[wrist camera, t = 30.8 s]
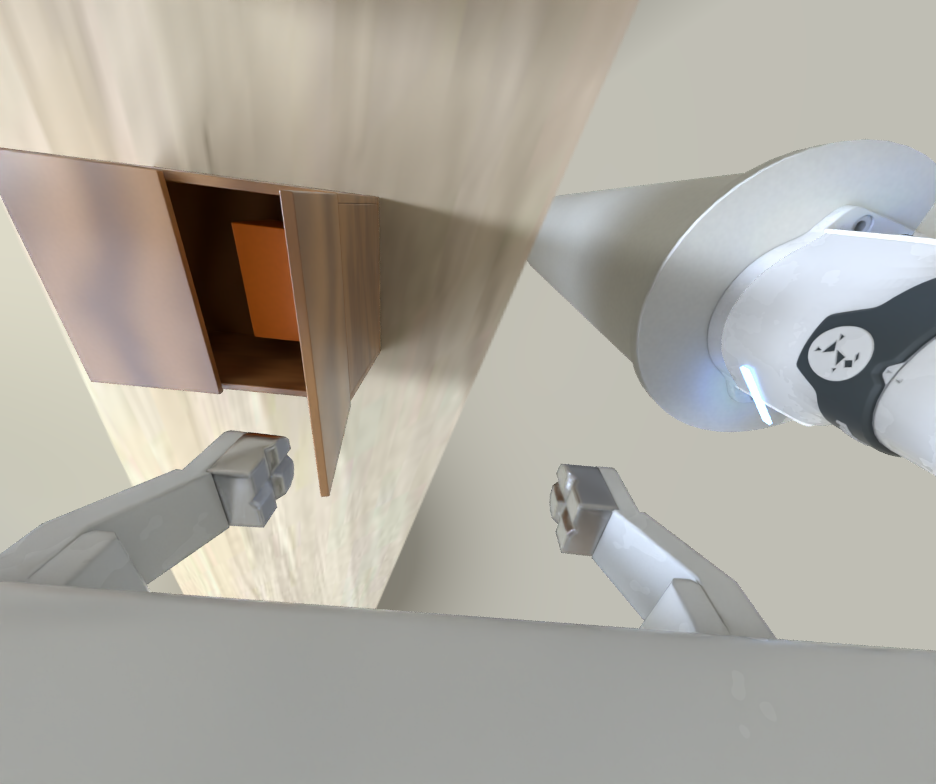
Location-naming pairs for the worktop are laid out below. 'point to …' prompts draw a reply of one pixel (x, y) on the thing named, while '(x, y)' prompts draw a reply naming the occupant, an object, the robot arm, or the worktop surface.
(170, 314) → the carton
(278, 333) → the orange block
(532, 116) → the worktop surface
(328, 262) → the carton flap
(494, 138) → the worktop surface
